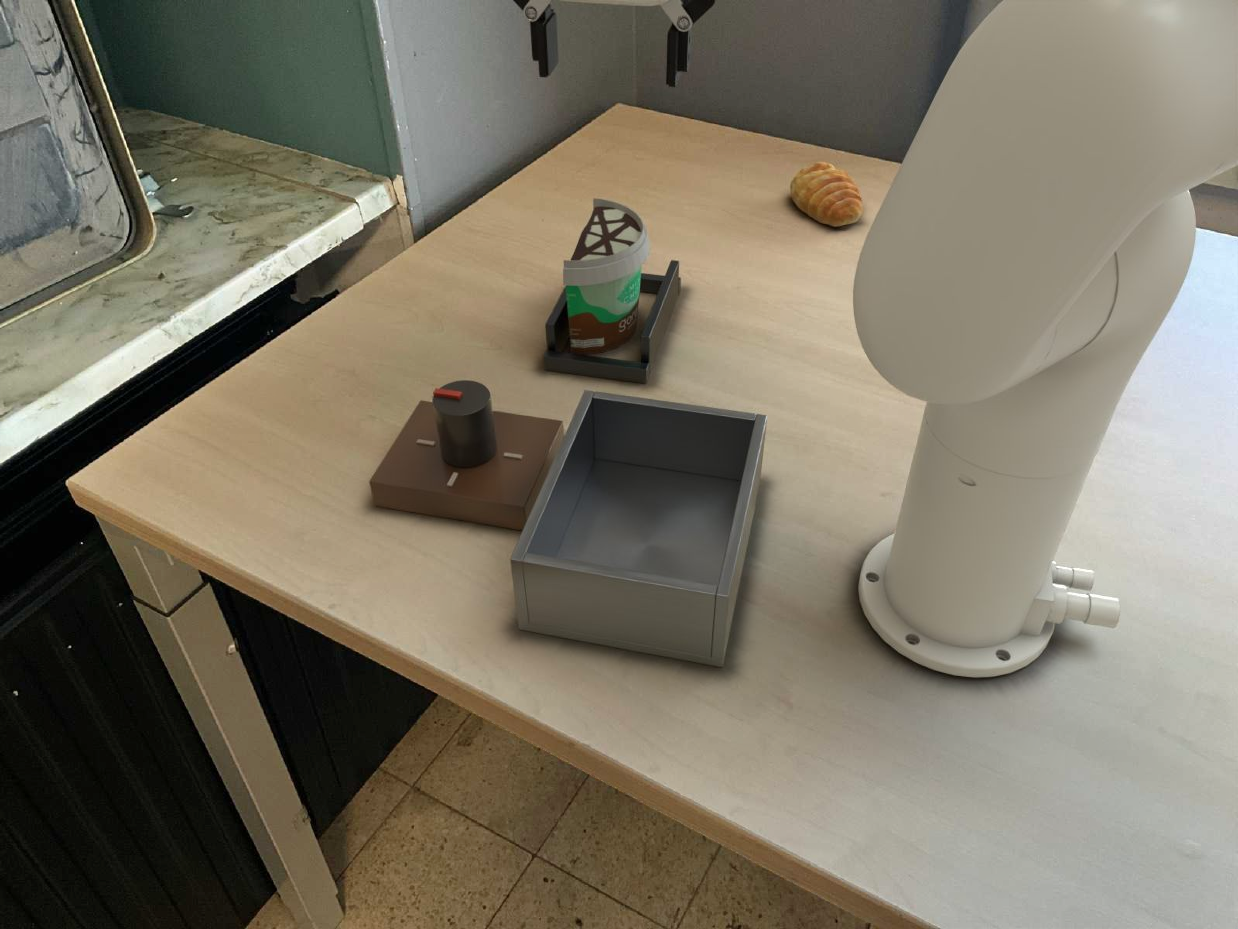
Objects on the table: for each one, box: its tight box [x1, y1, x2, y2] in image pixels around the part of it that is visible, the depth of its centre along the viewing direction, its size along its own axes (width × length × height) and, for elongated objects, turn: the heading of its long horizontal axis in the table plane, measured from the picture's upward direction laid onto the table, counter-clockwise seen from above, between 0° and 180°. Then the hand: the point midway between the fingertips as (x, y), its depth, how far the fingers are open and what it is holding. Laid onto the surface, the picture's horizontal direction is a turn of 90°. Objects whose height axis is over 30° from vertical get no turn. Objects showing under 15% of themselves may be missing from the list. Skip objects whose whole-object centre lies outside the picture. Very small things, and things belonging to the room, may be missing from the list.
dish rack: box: [542, 259, 682, 385], centre depth 91 cm, size 9×15×4 cm, turn 166°
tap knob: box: [431, 379, 497, 468], centre depth 74 cm, size 4×4×5 cm
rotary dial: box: [368, 399, 565, 531], centre depth 76 cm, size 12×10×3 cm
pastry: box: [789, 161, 864, 228], centre depth 107 cm, size 9×7×4 cm
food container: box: [562, 197, 651, 355], centre depth 89 cm, size 12×6×10 cm, turn 168°
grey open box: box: [509, 389, 768, 668], centre depth 69 cm, size 14×18×7 cm
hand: (611, 75), depth 75 cm, fingers open, 9 cm apart
